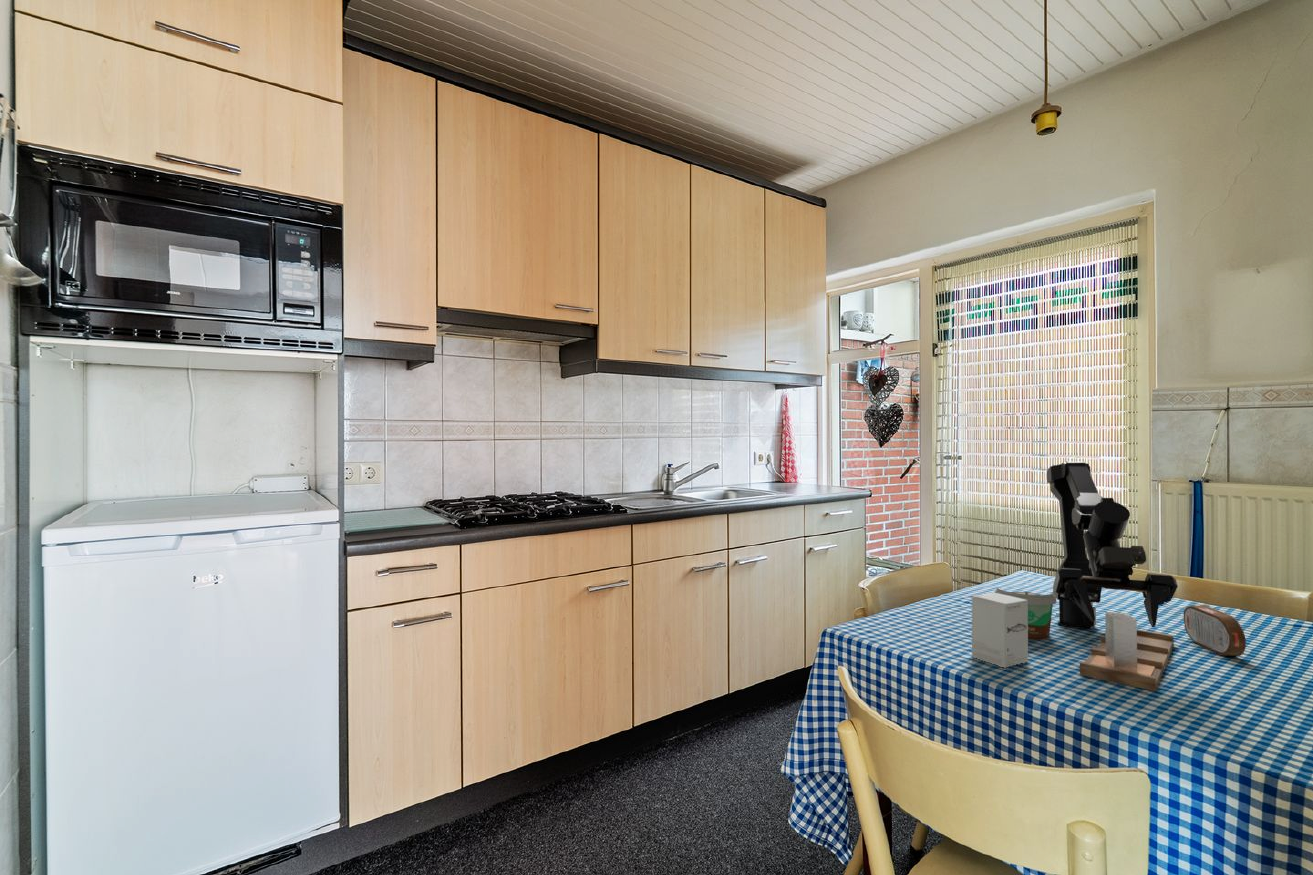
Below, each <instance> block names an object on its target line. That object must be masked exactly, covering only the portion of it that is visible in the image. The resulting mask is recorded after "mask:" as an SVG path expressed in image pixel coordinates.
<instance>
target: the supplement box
mask: <svg viewBox="0 0 1313 875" xmlns="http://www.w3.org/2000/svg"><path fill="white" fill-rule="evenodd" d="M971 658H974V659H976V658H977V659H976V660H979V659H980V661H982V660H983V661H982V662H984V661H986V662H985V663H987V662H990V663H993V664H996V665H999V666H1002V667H1004V668H1003V669H1006V667H1007V668H1010V667H1014V666H1017V665H1016V664H1018V665H1021V664H1020V663H1023V664H1026V663H1025V662H1028V663H1029V639H1028V600H1025V599H1021V598H1017V597H1012V596H1008V595H1003V594H998V593H995V592H991V593H984V594H978V595H972V596H971ZM990 663H989V664H990ZM993 664H992V665H993ZM996 665H995V666H996ZM1013 665H1014V666H1013ZM999 666H998V667H999ZM1009 666H1010V667H1009Z"/></svg>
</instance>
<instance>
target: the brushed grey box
mask: <svg viewBox="0 0 1313 875" xmlns="http://www.w3.org/2000/svg"><path fill="white" fill-rule="evenodd" d="M1104 614H1105V615H1104V616H1105V620H1104V621H1105V622H1104V623H1105V635H1106V661H1107V662H1108V663H1109V665H1110V666H1111V667H1112V668H1114V669H1119V670H1124V671H1131V672H1137V629H1138V628H1137V626H1138V622H1137V619H1136V618H1134V617H1133V616H1131V615H1130V614H1129V613H1125V612H1115V611H1105V613H1104Z"/></svg>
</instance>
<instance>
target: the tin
mask: <svg viewBox="0 0 1313 875" xmlns="http://www.w3.org/2000/svg"><path fill="white" fill-rule="evenodd" d="M1183 624H1184V630H1185V632H1186V634H1187V635H1188V637H1189V638H1190V639H1191V640H1192V642H1194V643H1195V644H1197V645H1199V646H1202V647H1203V648H1205V649H1207V650H1209V651H1212V652H1214V653H1216V654H1218V655H1220V656H1225V657H1226V656H1228V657H1229V656H1230V657H1232V656H1233V657H1240V656H1241V655H1243V654H1244V653H1245V651H1246V647H1247V640H1246V636H1245V635H1246V634H1245V632H1244V630H1243V628H1242V625H1241V624H1240V623H1239V622H1238V620H1237V619H1236V618H1235V617H1233V615H1231V614H1228V613H1226V612H1223V611H1221V610H1219V609H1215V608H1213V607H1210V606H1208V605H1205V604H1200V605H1189V606H1187V607H1185V608H1184V610H1183Z"/></svg>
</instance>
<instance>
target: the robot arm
mask: <svg viewBox="0 0 1313 875" xmlns="http://www.w3.org/2000/svg"><path fill="white" fill-rule="evenodd" d="M1091 472H1092V470H1091V466H1090V463H1089V462H1085V461H1080V460H1078V461H1076V460H1075V461H1069V460H1068V461H1065V462H1062V463H1060V464H1053V465H1052V466H1049V468H1048V469H1046V482H1047V484H1049V488H1050V489H1049V490H1050V492H1051V493H1052V494H1053V496H1054V497H1055V498H1056V499H1057V501H1058V504H1059V505H1058V506H1059V514H1060V515H1059V516H1060V517H1059V518H1060V526H1061V536H1062V547H1063V548H1062V549H1063V557H1064V558H1063V559H1062V562H1061V563H1060V565H1059V566H1058V568H1057V571H1056V574H1055V577H1054V582H1053V584H1052V593H1053V592H1054V595H1055V597H1056V601H1057V600H1058V602H1059V603H1058V606H1059V607H1058V608H1059V609H1058V610H1059V612H1058V613H1059V615H1058V617H1059V619H1058V621H1057V625H1058V626H1064V627H1069V628H1074V629H1075V628H1076V629H1079V630H1080V629H1081V630H1084V631H1085V630H1086V631H1091V630H1092V629H1093V628H1094V627H1095V626H1096V625H1097V609H1096V607H1095V606H1094V603H1096V604H1099V603H1100V602H1101V596H1102V590H1103V589H1106V590H1115V591H1132V592H1142V596H1143V598H1144V601H1143V605H1144V608H1145V609H1144V610H1145V611H1146V615H1147V619H1148V622H1149V624H1150V626H1151V628H1155V627H1156V625H1157V621H1158V620H1157V618H1158V612H1159V606H1162V605H1164V604H1165V603H1168V602H1171V601H1172V599H1173V597H1174V595H1175V593H1176V591H1177V589H1178V588H1179V586H1178V583H1177V579H1176V578H1175V577H1174V576H1172V575H1171V574H1166V573H1165V574H1163V573H1149V572H1148V573H1147V574H1146V576H1145V579H1144V580H1140V579H1130V576H1132V575H1133V573H1134V570H1133V567H1135V566H1136V565H1144V564H1145V563H1146V562H1147V555H1146V550H1145V548H1144V546H1143V545H1131V546H1130V547H1126V546H1125V547H1124V546H1120V545H1121V544H1120V541H1119V539H1122V538H1123V536H1124V533H1125V530H1126V527H1127V525H1128V522H1129V519H1130V516H1131V512H1130V510H1129V509H1128V508H1127V507H1126V506H1125V505H1123V504H1121V503H1119V502H1116V501H1115V499H1114V498H1113V497H1103V496H1101V495H1100V494H1099V491H1098V488H1097V487H1096V484H1095V482H1094V479H1093V477H1092V474H1091Z"/></svg>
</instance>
